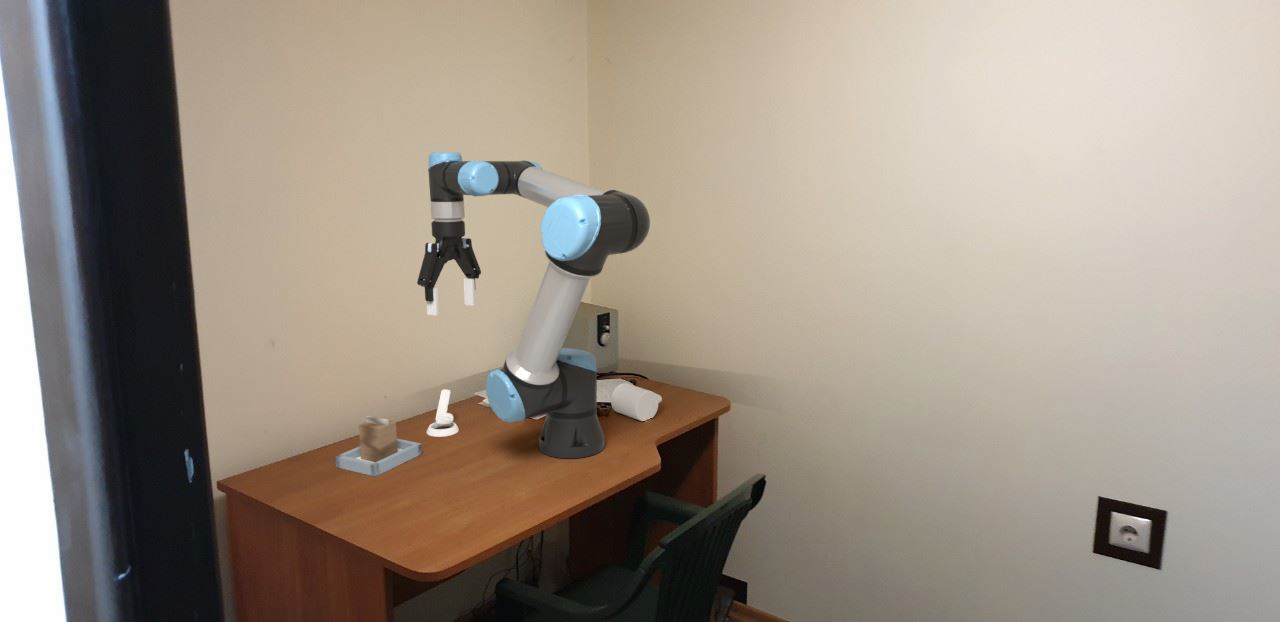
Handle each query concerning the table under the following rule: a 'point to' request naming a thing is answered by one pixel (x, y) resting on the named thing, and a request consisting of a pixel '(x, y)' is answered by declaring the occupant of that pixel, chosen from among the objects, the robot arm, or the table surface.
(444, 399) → the hook
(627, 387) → the mug
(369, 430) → the brown cardboard carton
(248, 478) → the table surface
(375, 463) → the tray
